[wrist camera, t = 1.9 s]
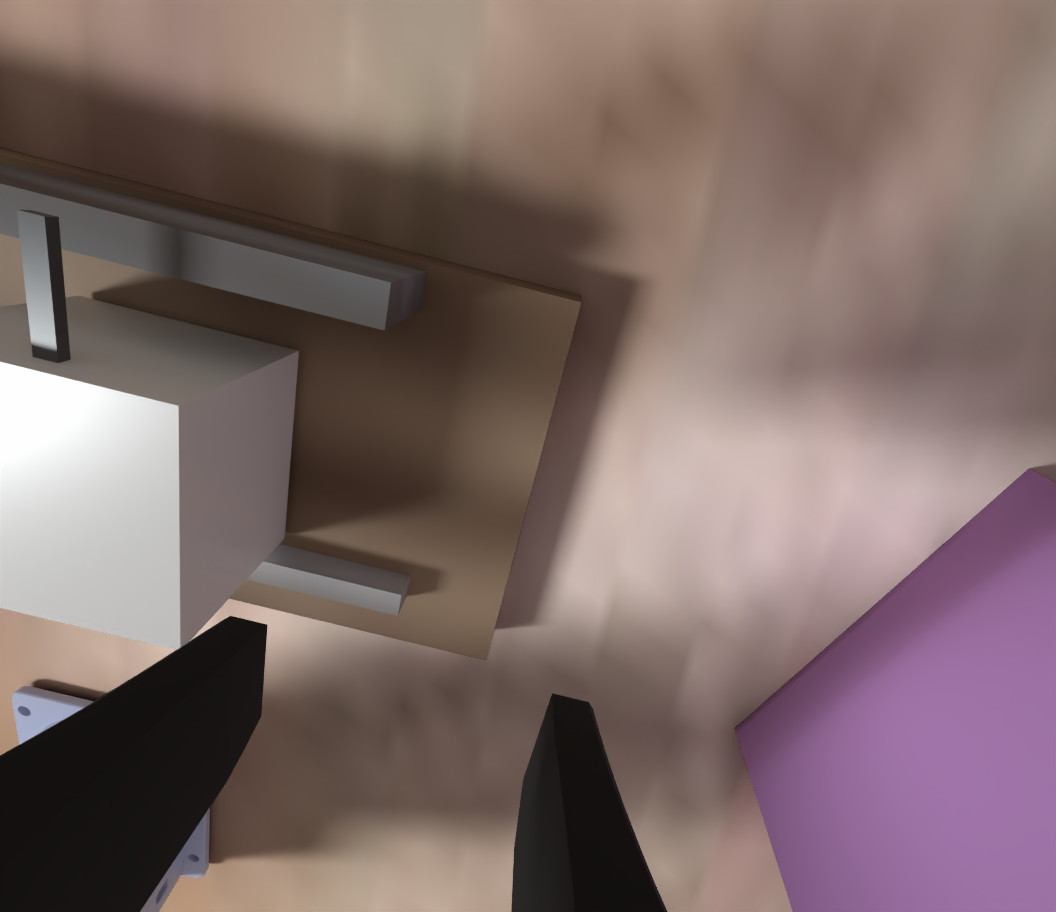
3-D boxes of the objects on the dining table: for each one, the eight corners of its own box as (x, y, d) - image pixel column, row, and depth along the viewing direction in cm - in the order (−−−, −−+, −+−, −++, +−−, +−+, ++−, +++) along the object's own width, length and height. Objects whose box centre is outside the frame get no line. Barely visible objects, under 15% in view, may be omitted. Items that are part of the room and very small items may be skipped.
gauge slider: (284, 538, 17) (180, 650, 13) (93, 491, 17) (-82, 588, 13) (306, 246, 14) (177, 257, 10) (70, 185, 14) (-177, 167, 9)
